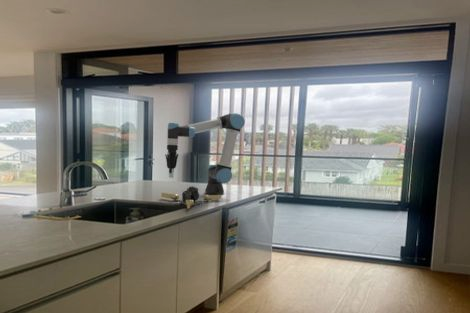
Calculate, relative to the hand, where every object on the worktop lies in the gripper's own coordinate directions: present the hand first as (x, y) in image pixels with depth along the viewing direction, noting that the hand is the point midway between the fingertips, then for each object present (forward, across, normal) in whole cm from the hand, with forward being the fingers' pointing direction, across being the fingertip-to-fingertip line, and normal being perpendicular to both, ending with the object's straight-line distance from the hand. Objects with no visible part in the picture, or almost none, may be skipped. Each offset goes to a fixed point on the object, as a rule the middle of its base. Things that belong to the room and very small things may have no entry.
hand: (171, 177), depth 258 cm
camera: (+14, +5, +21) cm, 26 cm away
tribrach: (+15, +6, +21) cm, 27 cm away
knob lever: (+15, +6, +4) cm, 16 cm away
